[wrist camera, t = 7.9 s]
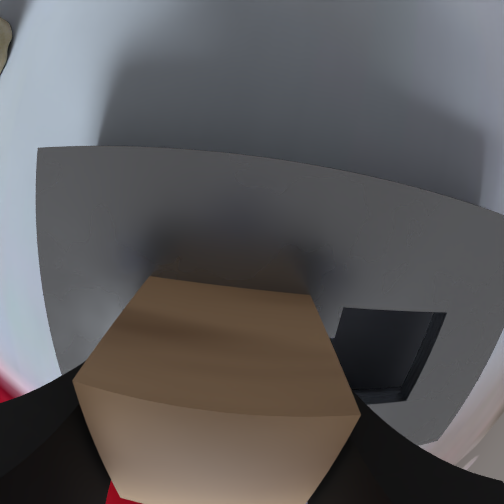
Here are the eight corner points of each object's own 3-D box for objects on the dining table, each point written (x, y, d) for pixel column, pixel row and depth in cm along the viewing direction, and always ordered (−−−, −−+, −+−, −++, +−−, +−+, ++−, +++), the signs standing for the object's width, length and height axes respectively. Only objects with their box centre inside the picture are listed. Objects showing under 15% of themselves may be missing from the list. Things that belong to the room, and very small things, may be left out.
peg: (276, 370, 13) (295, 517, 6) (167, 357, 13) (120, 497, 6) (298, 268, 11) (361, 414, 4) (168, 253, 11) (72, 380, 4)
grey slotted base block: (411, 395, 17) (437, 440, 12) (107, 375, 16) (79, 426, 11) (479, 208, 13) (535, 227, 8) (96, 148, 12) (37, 147, 8)
